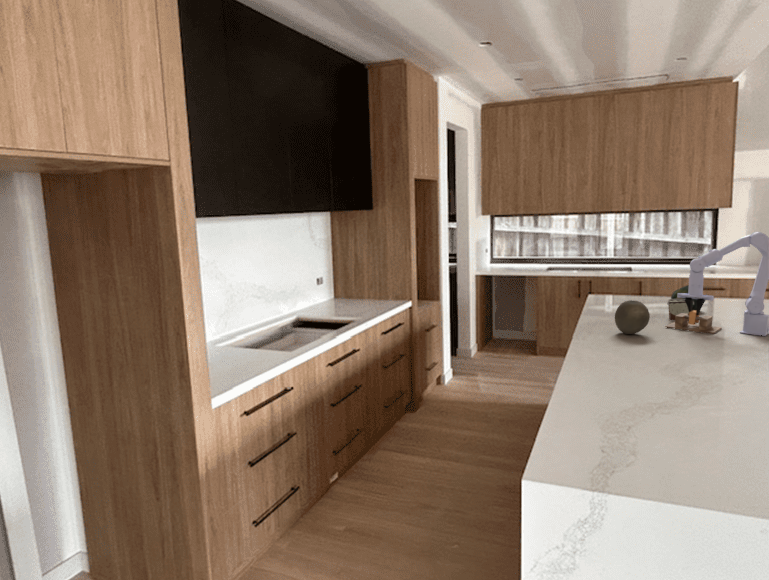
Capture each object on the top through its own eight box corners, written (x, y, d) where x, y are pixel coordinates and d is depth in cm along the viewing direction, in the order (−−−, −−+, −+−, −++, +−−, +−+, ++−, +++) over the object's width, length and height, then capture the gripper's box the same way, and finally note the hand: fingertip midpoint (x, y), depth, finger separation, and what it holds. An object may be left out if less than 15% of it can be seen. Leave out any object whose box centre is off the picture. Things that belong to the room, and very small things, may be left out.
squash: (660, 299, 303) (678, 280, 293) (679, 298, 310) (697, 279, 299) (676, 319, 295) (695, 301, 285) (695, 317, 301) (714, 300, 291)
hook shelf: (721, 329, 253) (722, 316, 252) (713, 334, 244) (714, 321, 243) (674, 323, 267) (674, 311, 266) (665, 327, 258) (665, 315, 257)
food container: (687, 318, 279) (688, 298, 277) (693, 320, 273) (694, 300, 271) (661, 318, 280) (663, 298, 279) (666, 320, 274) (668, 300, 272)
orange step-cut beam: (698, 322, 257) (699, 310, 256) (694, 324, 252) (695, 312, 251) (693, 322, 258) (693, 310, 258) (688, 324, 253) (689, 312, 253)
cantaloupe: (612, 336, 243) (613, 302, 241) (615, 329, 256) (617, 297, 254) (647, 339, 237) (649, 304, 235) (649, 332, 249) (651, 299, 247)
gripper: (675, 284, 254) (674, 314, 256) (711, 287, 245) (709, 317, 246) (680, 283, 260) (678, 311, 261) (715, 285, 250) (713, 315, 251)
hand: (694, 314), depth 254 cm, fingers closed on orange step-cut beam, 2 cm apart
